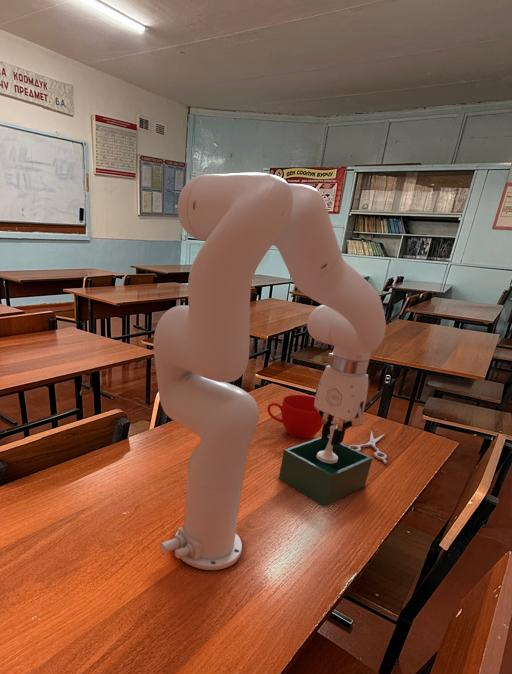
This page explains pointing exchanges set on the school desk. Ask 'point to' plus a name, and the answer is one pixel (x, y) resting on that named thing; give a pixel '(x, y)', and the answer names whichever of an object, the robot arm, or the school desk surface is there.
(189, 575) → the school desk surface
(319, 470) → the bin
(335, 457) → the chess piece
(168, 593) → the school desk surface
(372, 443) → the scissors
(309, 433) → the ceramic cup
